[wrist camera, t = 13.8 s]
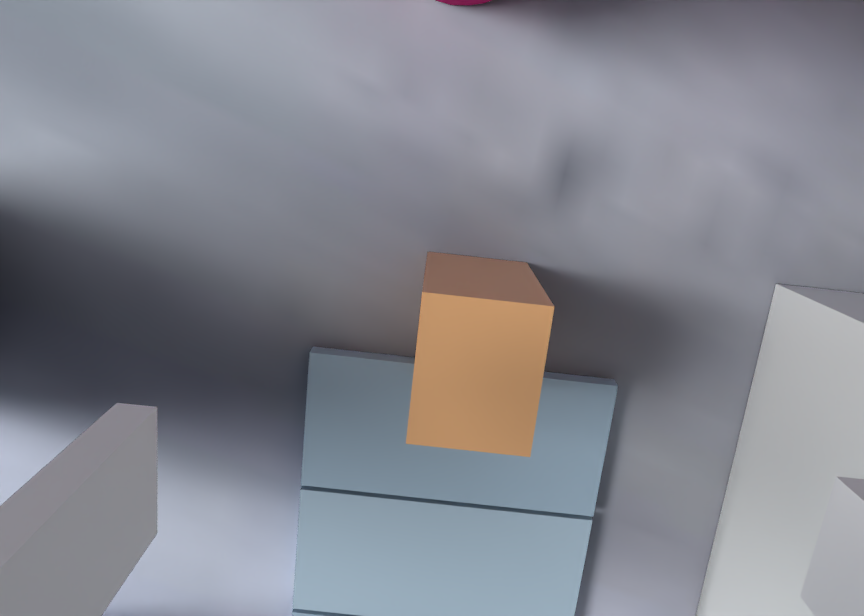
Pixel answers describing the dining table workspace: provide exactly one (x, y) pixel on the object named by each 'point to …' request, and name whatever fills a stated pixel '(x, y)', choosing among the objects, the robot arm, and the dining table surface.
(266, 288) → the dining table surface
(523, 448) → the lid
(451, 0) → the pepper mill
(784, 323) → the cabinet body
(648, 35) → the dining table surface
